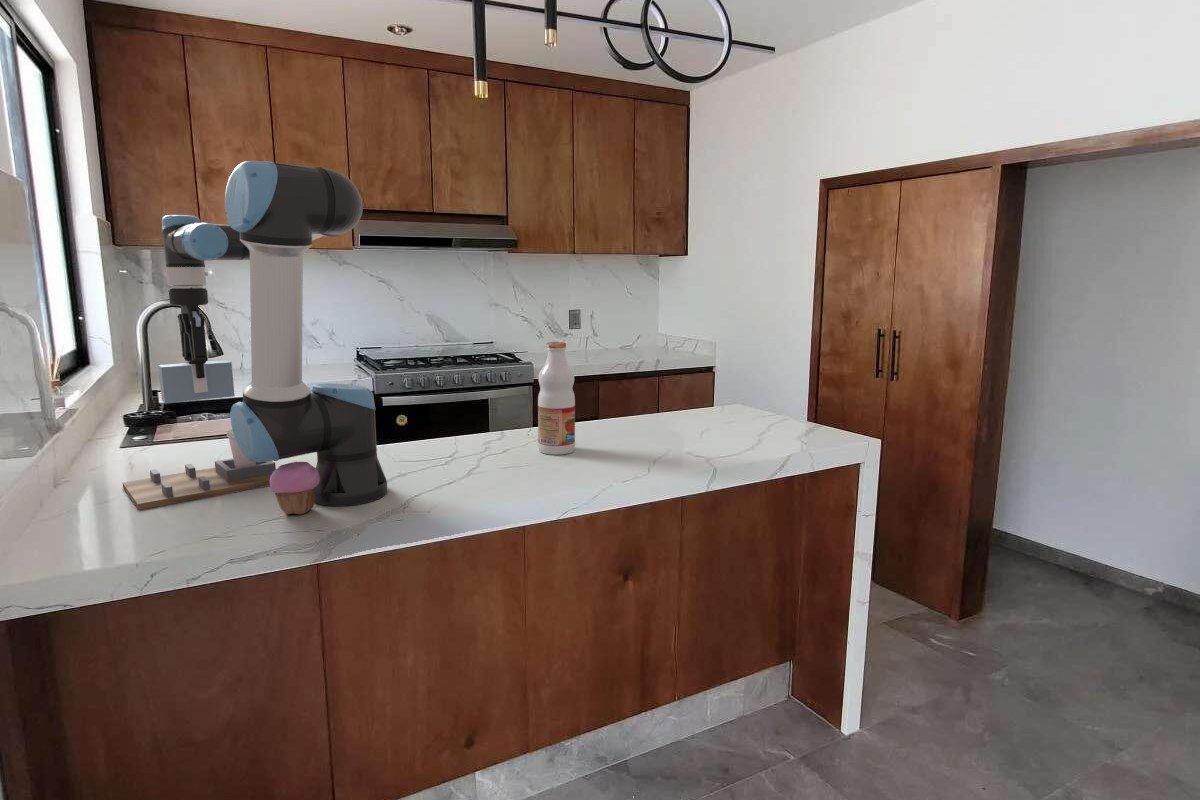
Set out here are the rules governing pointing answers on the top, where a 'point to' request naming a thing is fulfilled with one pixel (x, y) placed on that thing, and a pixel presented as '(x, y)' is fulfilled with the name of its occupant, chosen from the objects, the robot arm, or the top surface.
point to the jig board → (186, 488)
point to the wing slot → (190, 472)
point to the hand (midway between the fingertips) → (198, 390)
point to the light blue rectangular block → (180, 382)
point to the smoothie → (238, 452)
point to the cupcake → (295, 486)
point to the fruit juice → (556, 403)
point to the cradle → (243, 470)
